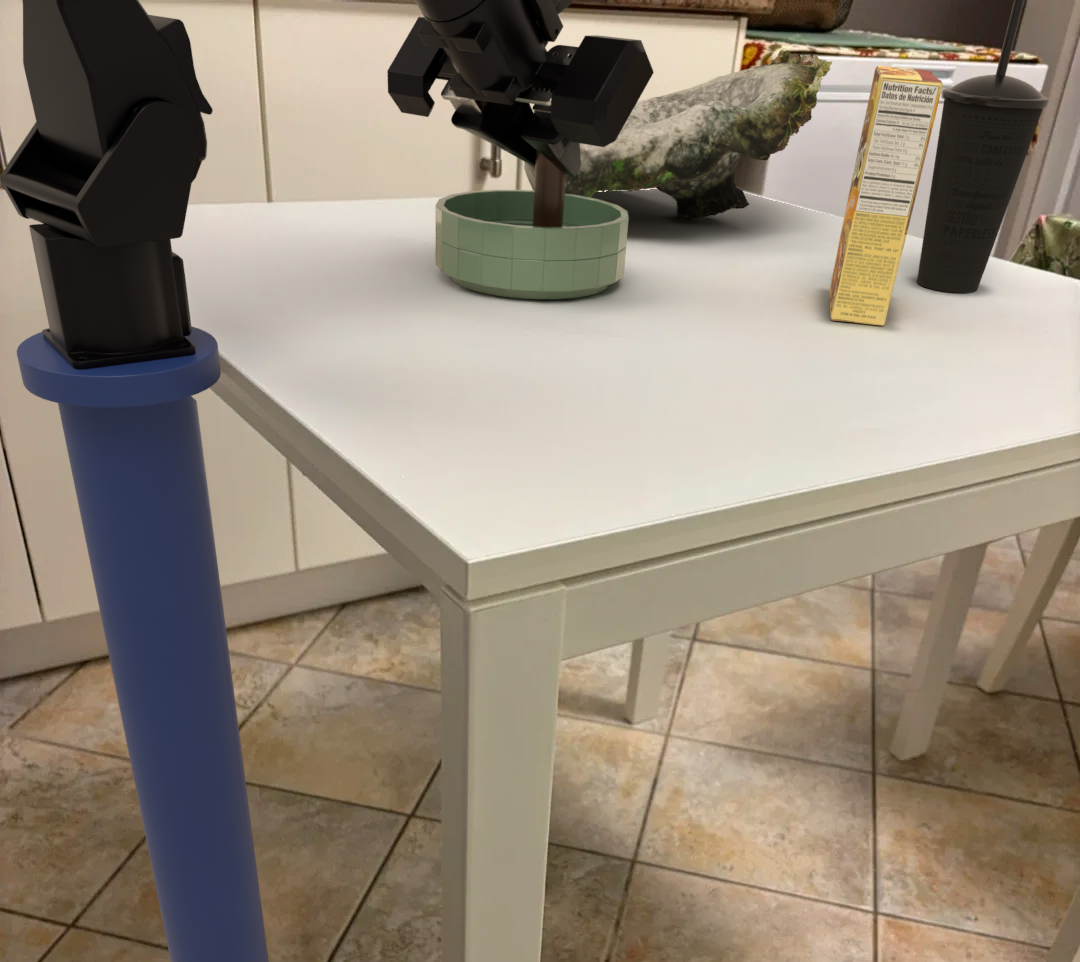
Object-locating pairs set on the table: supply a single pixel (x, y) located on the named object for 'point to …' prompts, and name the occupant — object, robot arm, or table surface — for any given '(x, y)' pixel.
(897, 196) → the candy box
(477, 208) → the mixing bowl
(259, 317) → the table surface
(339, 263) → the table surface
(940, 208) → the drinking cup
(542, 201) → the brown wooden peg
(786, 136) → the mossy rock
